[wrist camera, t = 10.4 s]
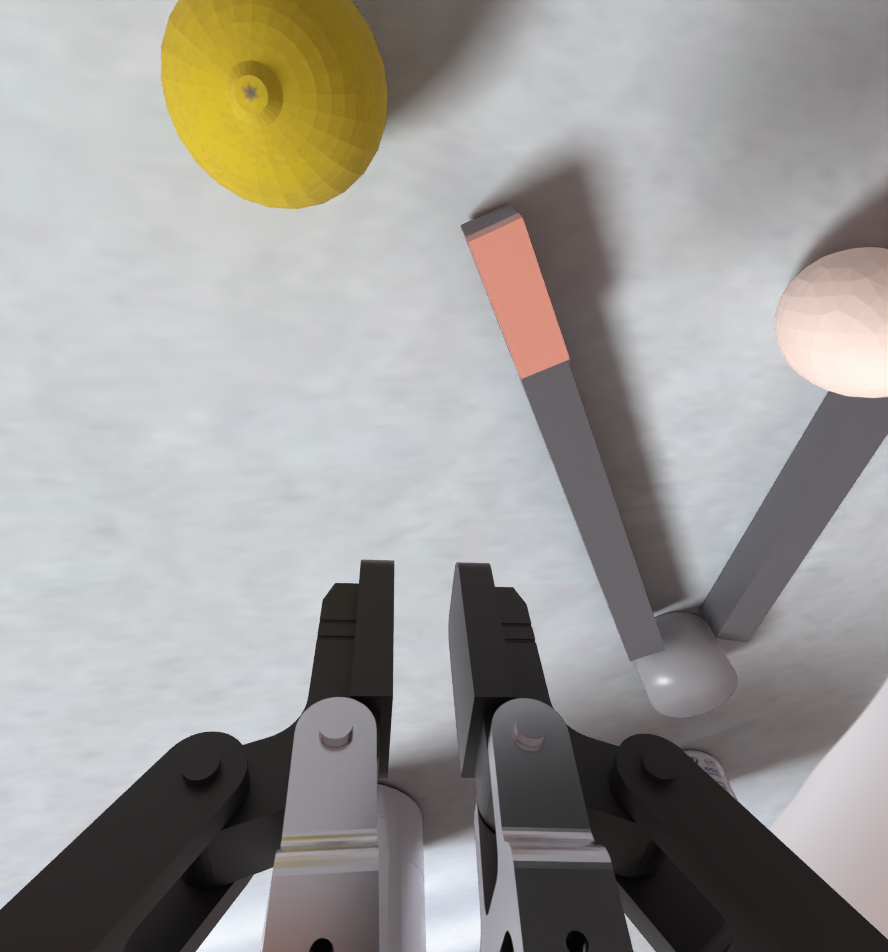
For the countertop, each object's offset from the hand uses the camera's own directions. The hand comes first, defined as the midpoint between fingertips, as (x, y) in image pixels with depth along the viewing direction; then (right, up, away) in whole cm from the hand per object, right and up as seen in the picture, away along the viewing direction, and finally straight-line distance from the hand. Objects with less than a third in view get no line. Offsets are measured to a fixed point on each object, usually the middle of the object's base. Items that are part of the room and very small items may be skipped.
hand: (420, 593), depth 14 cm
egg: (+15, +10, +11) cm, 21 cm away
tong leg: (+6, +3, +13) cm, 15 cm away
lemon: (-4, +15, +6) cm, 16 cm away
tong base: (+15, +3, +15) cm, 22 cm away
